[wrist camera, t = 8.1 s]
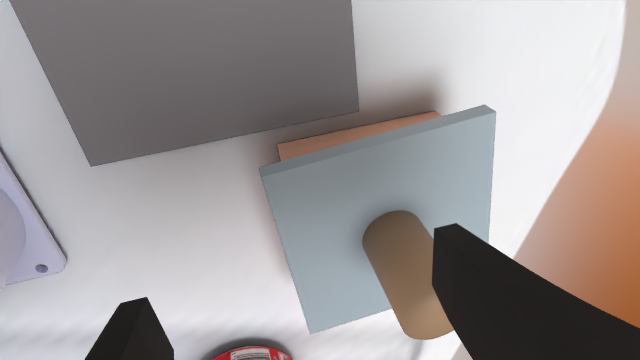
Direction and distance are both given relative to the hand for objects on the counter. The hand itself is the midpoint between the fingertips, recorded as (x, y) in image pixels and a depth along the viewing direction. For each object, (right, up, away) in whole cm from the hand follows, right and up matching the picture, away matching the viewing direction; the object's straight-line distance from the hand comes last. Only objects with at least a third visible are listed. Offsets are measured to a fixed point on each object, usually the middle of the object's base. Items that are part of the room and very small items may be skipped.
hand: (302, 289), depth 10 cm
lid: (+4, +1, +9) cm, 9 cm away
